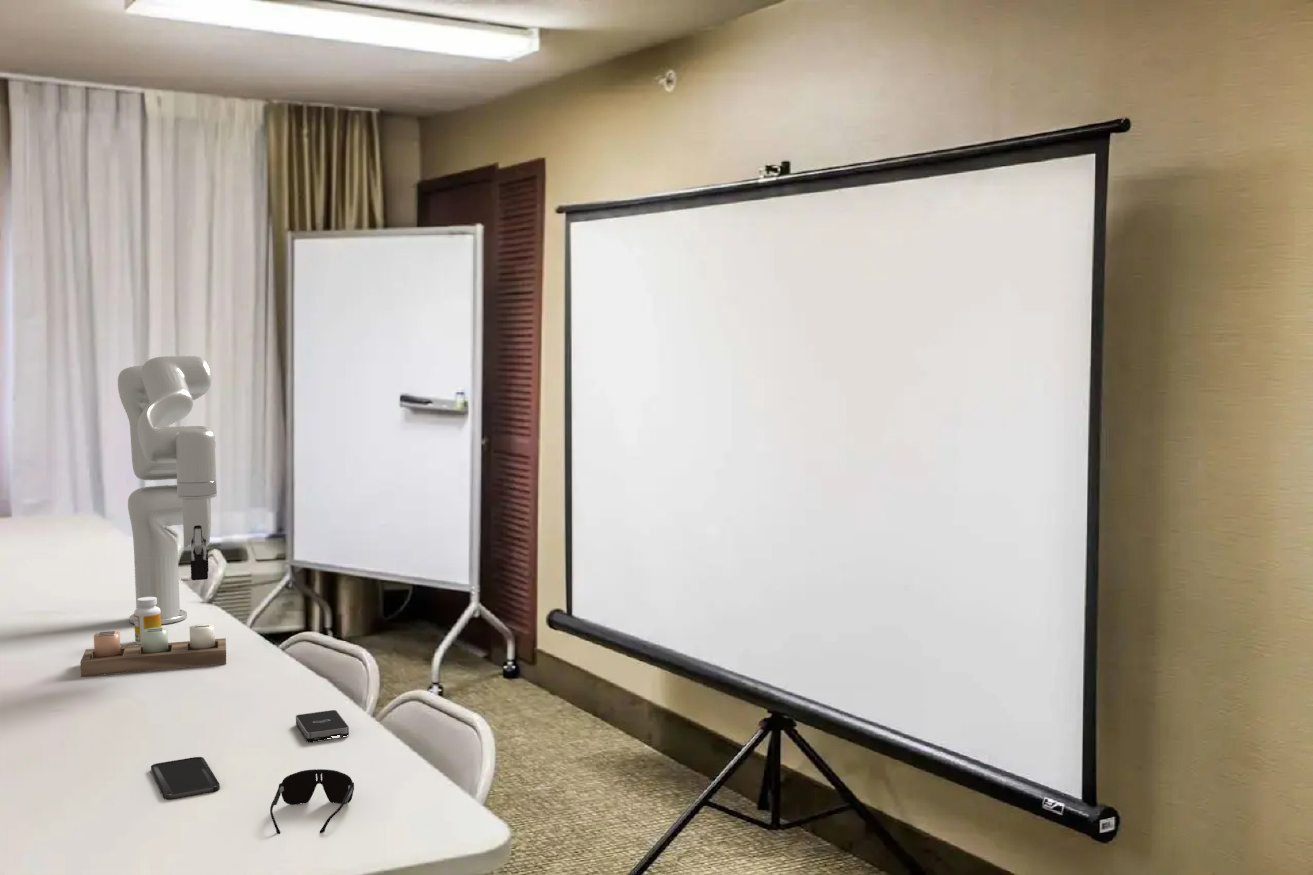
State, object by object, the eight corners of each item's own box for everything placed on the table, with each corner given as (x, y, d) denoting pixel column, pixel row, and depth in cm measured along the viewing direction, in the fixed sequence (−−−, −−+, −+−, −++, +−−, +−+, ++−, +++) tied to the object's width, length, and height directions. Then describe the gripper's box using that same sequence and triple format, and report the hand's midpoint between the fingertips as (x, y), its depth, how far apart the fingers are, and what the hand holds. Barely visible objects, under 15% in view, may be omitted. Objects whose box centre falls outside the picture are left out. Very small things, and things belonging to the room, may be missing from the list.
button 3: (95, 651, 249) (94, 631, 249) (121, 649, 251) (120, 629, 251) (93, 657, 245) (92, 637, 245) (119, 655, 247) (118, 635, 246)
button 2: (143, 647, 252) (142, 628, 252) (168, 645, 254) (168, 626, 254) (142, 653, 248) (141, 633, 248) (167, 651, 249) (167, 631, 249)
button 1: (190, 644, 255) (189, 624, 255) (215, 642, 257) (214, 622, 257) (189, 649, 251) (189, 629, 251) (214, 647, 252) (214, 627, 252)
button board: (86, 663, 251) (85, 649, 251) (226, 652, 260) (225, 638, 260) (81, 676, 242) (80, 661, 242) (226, 664, 251) (225, 649, 251)
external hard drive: (307, 745, 202) (307, 733, 202) (295, 726, 212) (294, 714, 212) (349, 739, 205) (349, 727, 205) (335, 720, 215) (335, 709, 215)
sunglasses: (357, 800, 178) (355, 768, 177) (339, 844, 166) (337, 811, 165) (284, 801, 178) (281, 769, 177) (260, 845, 166) (258, 812, 165)
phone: (164, 796, 177) (149, 764, 190) (165, 803, 178) (150, 771, 191) (221, 786, 181) (203, 755, 194) (221, 793, 182) (203, 762, 194)
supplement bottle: (166, 639, 272) (164, 596, 271) (154, 645, 266) (152, 601, 265) (143, 638, 272) (141, 595, 271) (130, 645, 267) (128, 600, 266)
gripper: (178, 485, 258) (181, 570, 260) (175, 496, 242) (179, 585, 243) (216, 484, 261) (219, 567, 262) (216, 494, 244) (219, 583, 246)
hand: (200, 575), depth 253 cm, fingers open, 6 cm apart
